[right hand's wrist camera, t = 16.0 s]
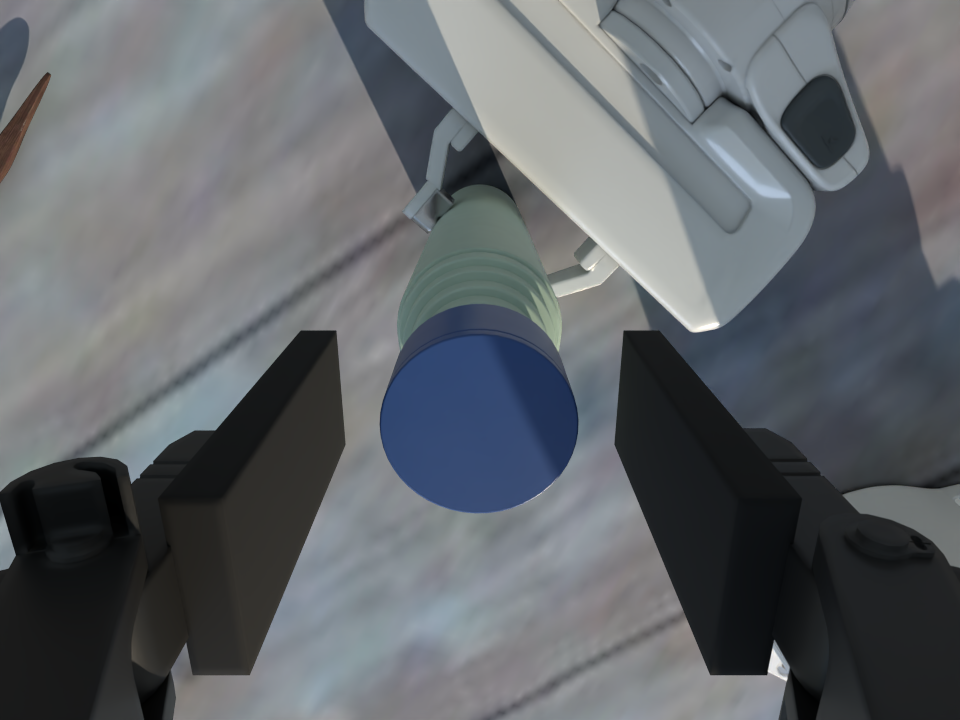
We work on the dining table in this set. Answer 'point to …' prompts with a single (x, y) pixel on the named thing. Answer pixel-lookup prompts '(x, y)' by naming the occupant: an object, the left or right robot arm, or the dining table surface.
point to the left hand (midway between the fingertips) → (467, 266)
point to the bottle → (480, 265)
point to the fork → (19, 126)
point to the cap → (479, 410)
